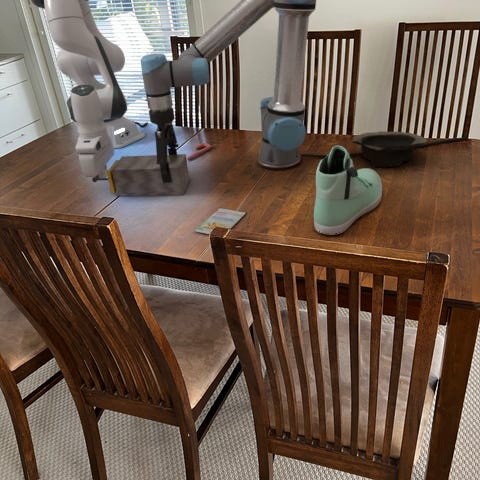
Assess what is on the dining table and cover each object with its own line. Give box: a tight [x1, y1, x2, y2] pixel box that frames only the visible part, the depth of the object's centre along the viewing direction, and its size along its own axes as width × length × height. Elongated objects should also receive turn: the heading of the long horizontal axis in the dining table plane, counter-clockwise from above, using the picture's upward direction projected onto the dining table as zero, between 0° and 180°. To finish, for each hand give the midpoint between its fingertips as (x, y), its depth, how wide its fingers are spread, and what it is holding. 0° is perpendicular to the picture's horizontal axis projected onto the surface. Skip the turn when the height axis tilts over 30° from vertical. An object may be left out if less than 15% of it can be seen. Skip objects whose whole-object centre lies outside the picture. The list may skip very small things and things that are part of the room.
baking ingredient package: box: [194, 207, 246, 235], centre depth 137 cm, size 9×1×15 cm
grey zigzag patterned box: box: [112, 153, 190, 198], centre depth 158 cm, size 22×12×9 cm, turn 85°
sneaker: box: [313, 145, 383, 236], centre depth 133 cm, size 14×35×20 cm, turn 152°
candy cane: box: [186, 143, 212, 161], centre depth 185 cm, size 6×15×2 cm, turn 145°
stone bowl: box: [351, 131, 429, 168], centre depth 166 cm, size 25×25×9 cm
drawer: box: [91, 159, 120, 194], centre depth 159 cm, size 27×10×7 cm, turn 85°
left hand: (103, 178), depth 160 cm, fingers closed
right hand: (171, 174), depth 157 cm, fingers closed on grey zigzag patterned box, 11 cm apart
